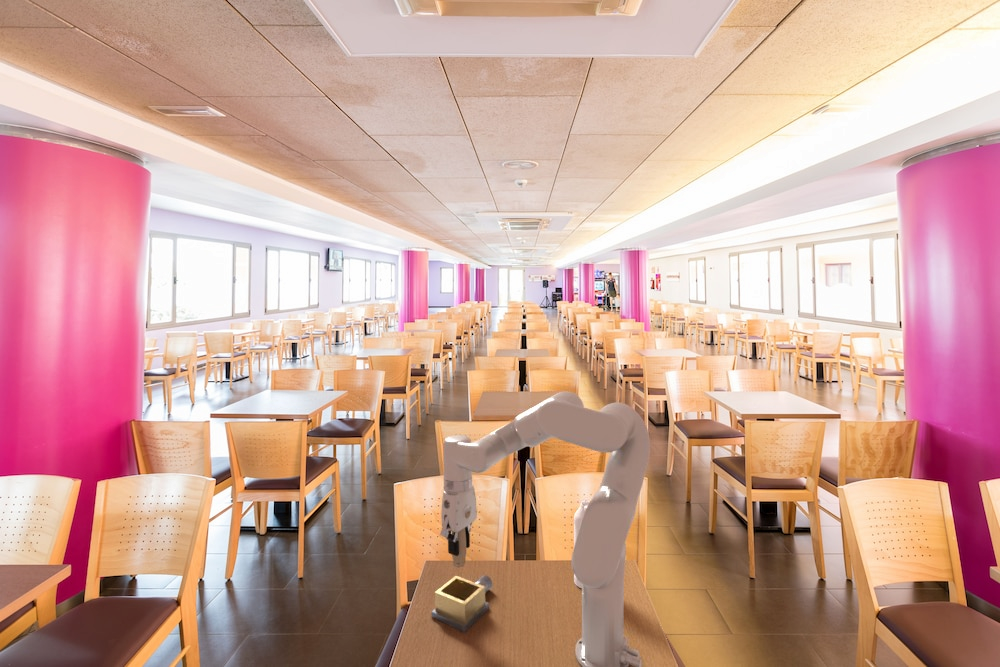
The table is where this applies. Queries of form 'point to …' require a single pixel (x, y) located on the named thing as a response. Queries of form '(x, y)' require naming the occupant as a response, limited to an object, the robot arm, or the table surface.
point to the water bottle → (577, 524)
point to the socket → (461, 601)
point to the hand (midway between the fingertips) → (459, 549)
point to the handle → (461, 547)
